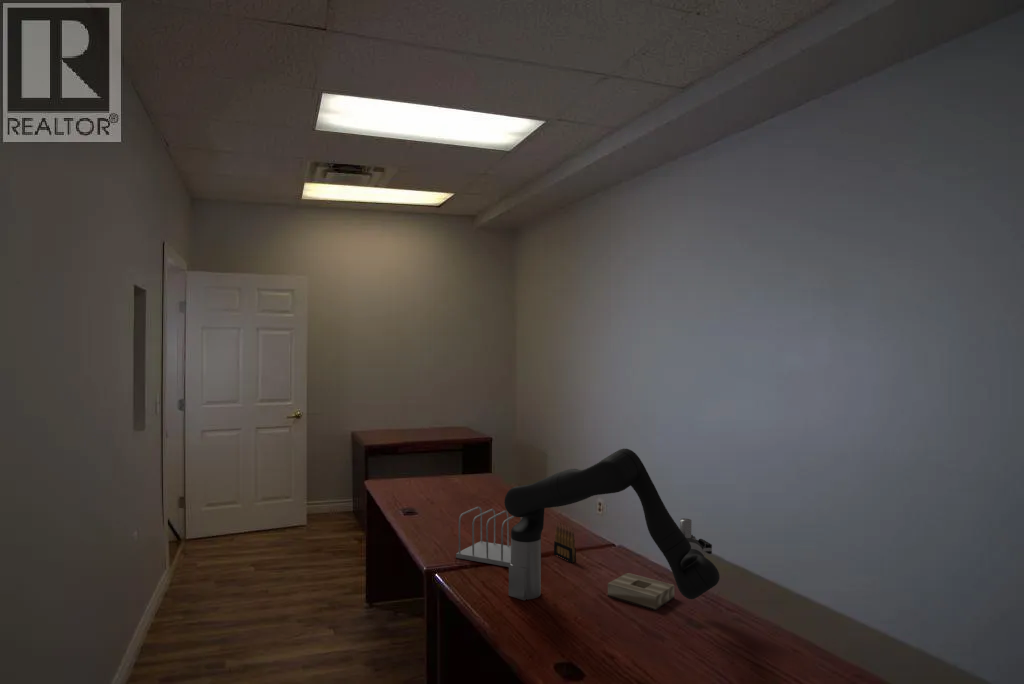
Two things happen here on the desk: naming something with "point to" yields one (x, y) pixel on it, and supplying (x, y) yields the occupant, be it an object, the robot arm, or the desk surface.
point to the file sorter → (487, 543)
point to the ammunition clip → (565, 543)
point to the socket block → (641, 591)
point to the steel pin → (685, 527)
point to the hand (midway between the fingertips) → (684, 537)
